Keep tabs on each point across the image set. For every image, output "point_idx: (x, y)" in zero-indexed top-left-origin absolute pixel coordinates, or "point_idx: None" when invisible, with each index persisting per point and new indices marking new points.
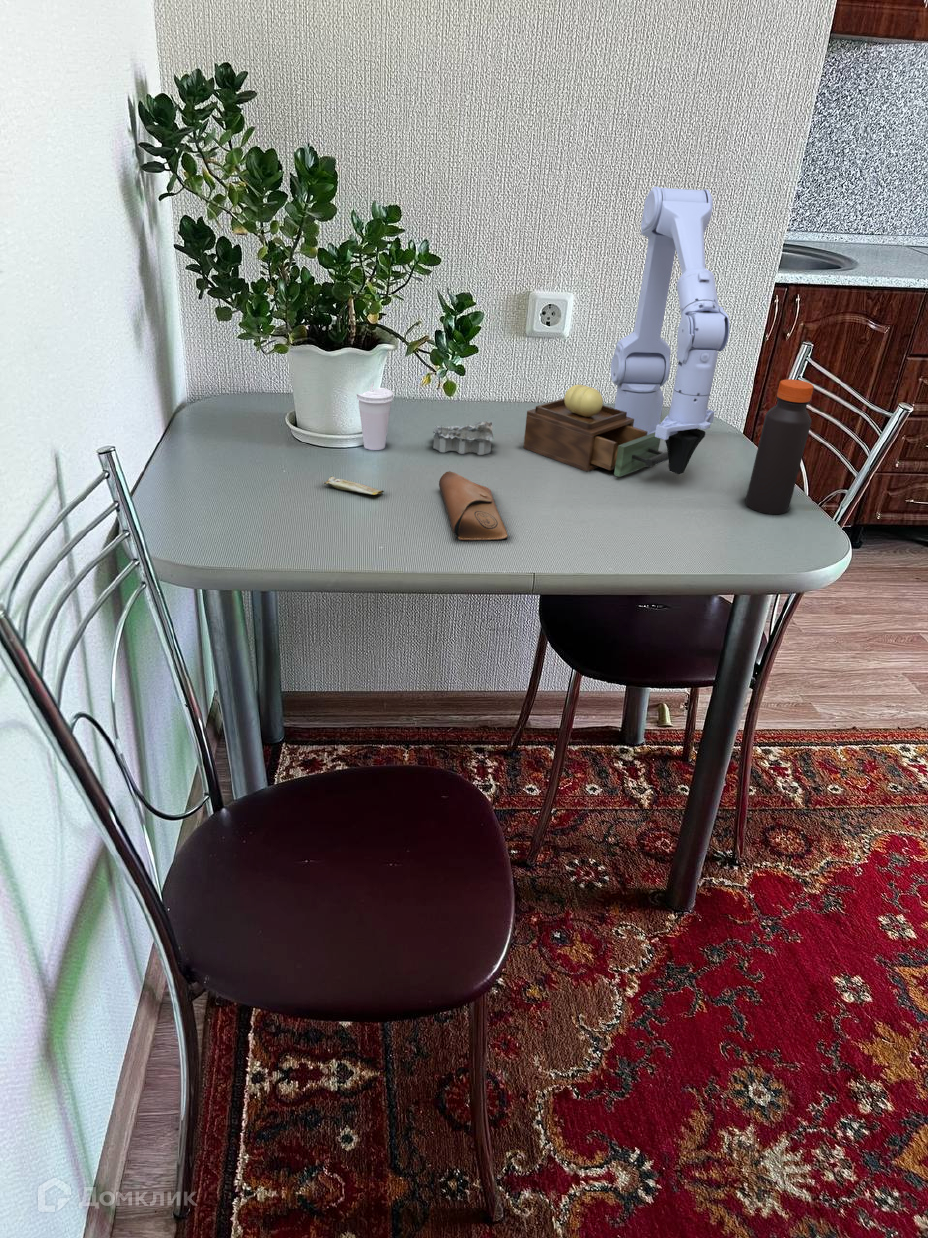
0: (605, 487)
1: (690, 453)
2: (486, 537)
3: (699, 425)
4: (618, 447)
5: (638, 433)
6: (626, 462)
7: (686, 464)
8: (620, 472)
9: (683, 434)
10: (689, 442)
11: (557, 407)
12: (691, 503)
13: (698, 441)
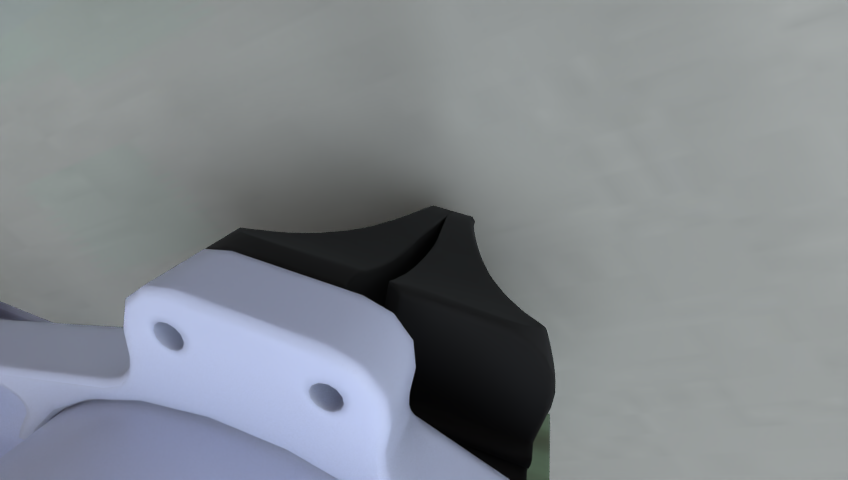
0: (643, 429)
1: (405, 239)
2: None
3: (398, 450)
4: None
5: None
6: None
7: (431, 217)
8: (549, 429)
9: (477, 442)
10: (543, 329)
11: None
12: (639, 61)
13: (328, 248)
